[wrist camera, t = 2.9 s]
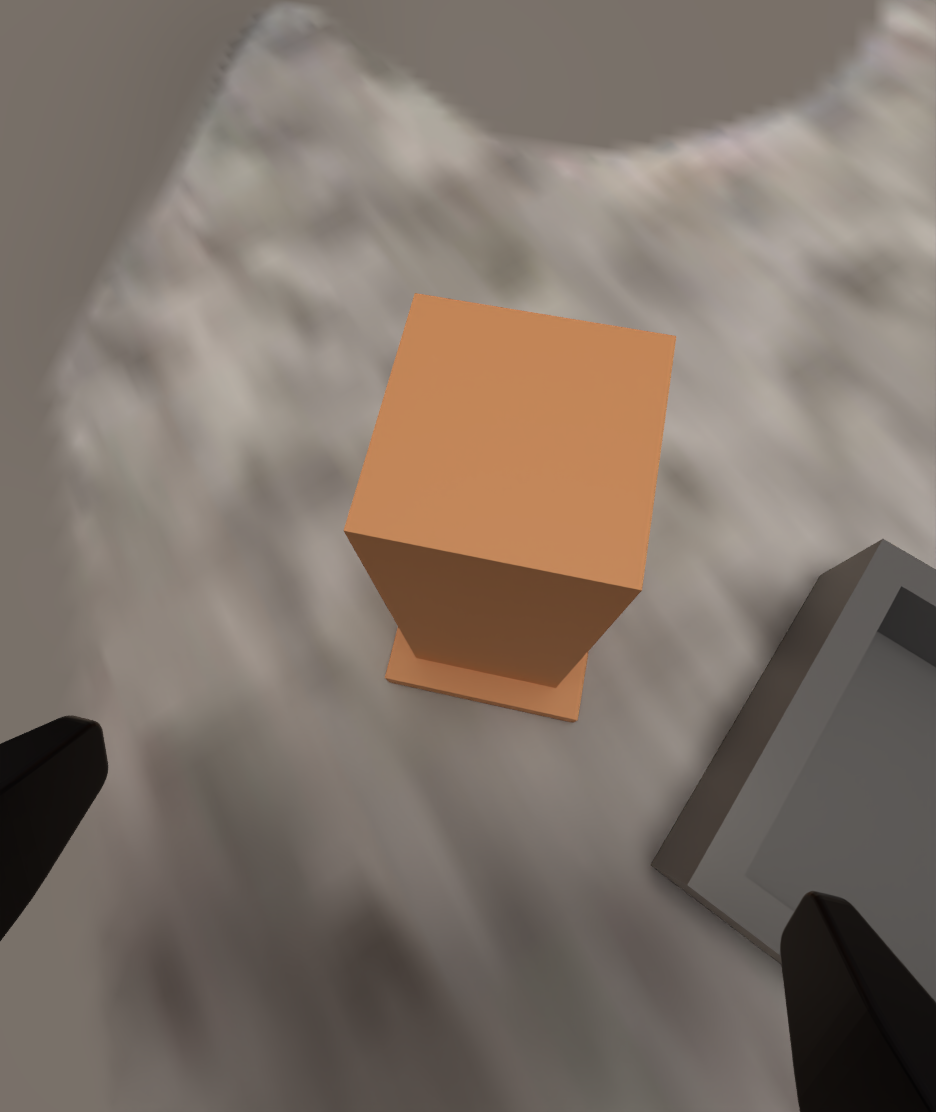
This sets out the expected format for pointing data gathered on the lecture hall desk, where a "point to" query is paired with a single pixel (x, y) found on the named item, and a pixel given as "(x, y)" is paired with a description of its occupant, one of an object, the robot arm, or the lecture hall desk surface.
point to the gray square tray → (830, 770)
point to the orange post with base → (510, 497)
